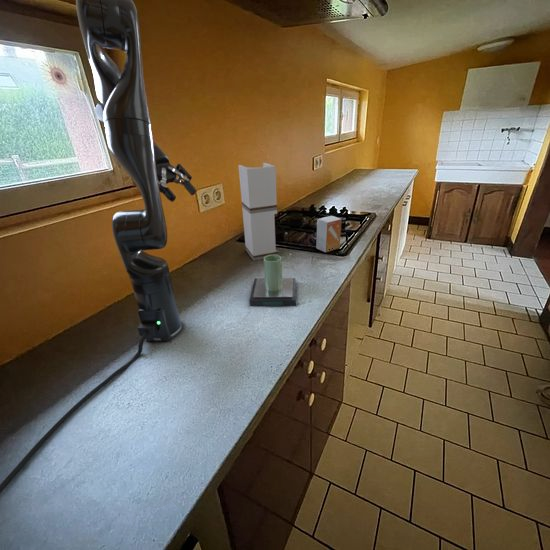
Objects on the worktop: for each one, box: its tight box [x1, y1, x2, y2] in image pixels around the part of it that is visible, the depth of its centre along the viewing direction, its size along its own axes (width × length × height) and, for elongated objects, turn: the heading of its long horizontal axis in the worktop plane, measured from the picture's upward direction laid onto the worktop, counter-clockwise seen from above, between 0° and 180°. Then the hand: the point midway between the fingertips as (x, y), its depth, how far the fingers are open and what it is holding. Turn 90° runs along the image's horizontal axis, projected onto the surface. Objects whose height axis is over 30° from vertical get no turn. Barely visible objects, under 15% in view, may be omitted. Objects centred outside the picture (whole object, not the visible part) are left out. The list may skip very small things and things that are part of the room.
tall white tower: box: [238, 162, 280, 262], centre depth 119 cm, size 11×11×35 cm
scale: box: [248, 277, 297, 307], centre depth 96 cm, size 14×14×3 cm
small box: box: [315, 215, 343, 253], centre depth 126 cm, size 8×6×13 cm
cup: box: [263, 254, 283, 291], centre depth 94 cm, size 5×5×10 cm
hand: (184, 196), depth 89 cm, fingers open, 8 cm apart
